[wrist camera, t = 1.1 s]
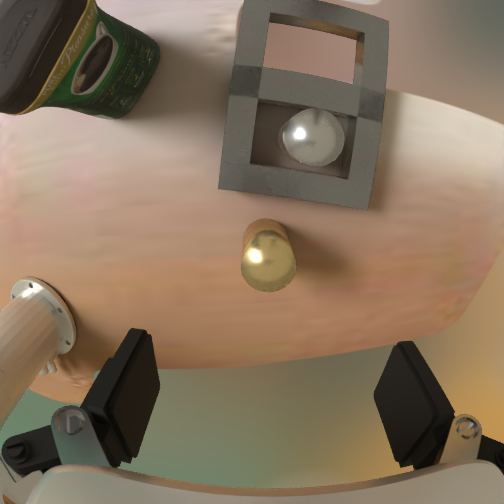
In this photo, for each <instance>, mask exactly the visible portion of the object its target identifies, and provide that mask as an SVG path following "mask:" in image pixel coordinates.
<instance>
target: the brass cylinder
mask: <svg viewBox="0 0 504 504" xmlns="http://www.w3.org/2000/svg"><path fill="white" fill-rule="evenodd" d="M241 271H242V275H243V277H244V279H245V281H246V282H247V283H248V284H249V285H250V286H251V287H253V288H254V289H256V290H259V291H263V292H274V291H278V290H280V289H282V288H284V287H285V286H287V285H288V284H289V283H290V282H291V281H292V279H293V277H294V275H295V273H296V259H295V256H294V254H293V251H292V248H291V245H290V243H289V240H288V237H287V234H286V232H285V230H284V228H283V227H282V225H280V224H279V223H278V222H276V221H274V220H271V219H260V220H257V221H255V222H253V223H252V224H251V225H249V227H248V228H247V229H246V231H245V234H244V240H243V251H242V263H241Z"/></svg>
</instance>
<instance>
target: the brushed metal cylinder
mask: <svg viewBox="0 0 504 504" xmlns="http://www.w3.org/2000/svg"><path fill="white" fill-rule="evenodd" d="M344 140H345V139H344V131H343V128H342V126H341V124H340V122H339V121H338V120H337V119H336V118H335V117H334V116H333V115H332V114H331V113H329V112H327V111H325V110H322V109H316V108H312V109H306V110H303V111H301V112H299V113H297V114H296V115H295V116H293V117H292V118H290V119H289V120H287V121H286V122H285V123H284V124H283V125H282V126H281V128H280V130H279V133H278V144H279V147H280V149H281V151H282V152H283V153H284V154H285V155H286V156H287V157H288V158H290V159H292V160H295V161H297V162H300V163H303V164H305V165H308V166H313V167H320V166H325V165H328V164H330V163H331V162H333V161H334V160H336V159H337V157H338V156H339V155H340V153H341V152H342V149H343V146H344Z"/></svg>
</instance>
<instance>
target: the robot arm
mask: <svg viewBox="0 0 504 504" xmlns="http://www.w3.org/2000/svg"><path fill="white" fill-rule="evenodd" d="M75 341H76V326H75V322H74V319H73V317H72V314H71V312H70V311H69V309H68V307H67V305H66V304H65V302H64V301H63V299H62V298H61V297H60V296H59V295H58V293H57V292H55V291H54V290H53V289H52V288H51V287H50V286H49V285H47V284H46V283H44V282H42V281H40V280H39V279H35V278H30V277H26V278H23V279H21V280H19V281H18V282H17V283H16V284H15V285H14V286H13V288H12V290H11V294H10V302H9V303H8V304H7V305H6V306H5V307H4V308H3V309H1V310H0V431H1V429H2V427H3V426H4V424H5V422H6V421H7V419H8V417H9V416H10V414H11V413H12V411H13V410H14V408H15V407H16V405H17V404H18V402H19V401H20V400H21V398H22V397H23V395H24V394H25V392H26V391H27V389H28V388H29V387H30V385H31V384H32V382H33V381H34V380H35V378H36V377H37V375H38V374H40V375H46V374H48V372H49V371H50V372H51V373H56V372H57V368H56V365H55V363H54V359H55V358H56V357H57V355H58V354H65V353H67V352H68V351H70V349H71V348H72V347H73V345H74V343H75ZM47 365H48V367H47ZM48 368H49V370H48ZM159 390H160V381H159V376H158V371H157V366H156V360H155V355H154V349H153V343H152V337H151V335H150V334H147V331H146V330H142V329H136V328H131V329H130V330H129V332H128V333H127V335H126V337H125V338H124V340H123V342H122V343H121V345H120V347H119V348H118V350H117V352H116V354H115V355H114V357H113V358H109V359H108V360H107V361H106V363H105V364H104V366H103V368H102V369H101V371H100V373H99V374H98V376H97V378H96V380H95V381H94V383H93V385H92V387H91V388H90V390H89V392H88V394H87V395H86V397H85V399H84V401H83V403H82V404H81V406H80V407H77V406H72V405H70V406H64V407H62V408H59V409H58V410H57V411H56V412H55V413H54V414H53V416H52V418H51V425H48V426H45V427H42V428H39V429H36V430H32V431H29V432H26V433H22V434H19V435H15V436H12V437H10V438H9V439H7V440H6V441H5V443H4V444H3V446H2V453H0V504H504V444H503V443H501V442H498V441H496V440H493V439H491V438H488V437H486V436H484V435H482V427H481V424H480V423H479V421H478V420H477V419H476V418H475V417H473V416H471V415H467V414H461V415H459V416H457V417H456V418H455V416H454V413H455V411H454V409H453V407H452V406H451V404H450V402H449V400H448V398H447V397H446V395H445V393H444V391H443V390H442V388H441V386H440V385H439V383H438V381H437V379H436V378H435V376H434V374H433V373H432V371H431V369H430V368H429V366H428V364H427V363H426V361H425V360H424V358H423V356H422V355H421V353H420V352H419V350H418V348H417V347H416V345H415V344H414V342H413V341H401V342H398V343H397V345H396V346H394V347H393V349H392V352H391V354H390V356H389V359H388V361H387V364H386V366H385V369H384V371H383V373H382V375H381V378H380V380H379V382H378V384H377V386H376V389H375V391H374V400H375V403H376V406H377V409H378V411H379V414H380V417H381V419H382V423H383V426H384V429H385V431H386V434H387V437H388V440H389V443H390V446H391V449H392V453H393V455H394V459H395V461H396V462H399V465H400V467H401V468H402V467H406V466H410V465H413V468H414V470H413V471H411V472H406V473H402V474H398V475H393V476H388V477H384V478H379V479H373V480H368V481H362V482H355V483H348V484H340V485H331V486H320V487H307V488H282V489H281V488H276V489H275V488H274V489H273V488H272V489H271V488H270V489H269V488H265V489H264V488H240V487H226V486H215V485H206V484H198V483H190V482H184V481H177V480H171V479H166V478H160V477H155V476H150V475H145V474H141V473H137V472H132V471H126V470H122V469H118V467H119V466H120V464H121V461H123V462H126V463H131V460H132V457H134V458H136V457H137V455H138V453H139V449H140V446H141V443H142V440H143V437H144V434H145V431H146V428H147V425H148V422H149V419H150V416H151V413H152V411H153V408H154V405H155V402H156V398H157V396H158V393H159Z"/></svg>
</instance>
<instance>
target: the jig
mask: <svg viewBox="0 0 504 504" xmlns="http://www.w3.org/2000/svg"><path fill="white" fill-rule="evenodd" d="M269 22H271V23H279V24H285V25H292V26H298V27H304V28H308V29H313V30H318V31H323V32H327V33H331V34H336V35H339V36H343V37H347V38H351V39H354V40H357V44H356V57H355V69H354V80H353V84H349V83H345V82H341V81H337V80H332V79H328V78H323V77H319V76H314V75H309V74H303V73H297V72H292V71H285V70H279V69H273V68H265V67H262V66H263V60H264V52H265V45H266V38H267V31H268V24H269ZM388 40H389V21H387V20H384V19H381V18H379V17H376V16H373V15H370V14H367V13H364V12H360V11H357V10H354V9H350V8H346V7H343V6H339V5H335V4H331V3H327V2H323V1H318V0H244V5H243V10H242V16H241V22H240V28H239V34H238V40H237V46H236V53H235V59H234V66H233V72H232V79H231V86H230V94H229V101H228V108H227V116H226V124H225V132H224V140H223V149H222V157H221V166H220V175H219V185H218V189H223V190H232V191H241V192H249V193H257V194H265V195H273V196H280V197H288V198H295V199H302V200H308V201H315V202H321V203H328V204H334V205H340V206H346V207H352V208H357V209H363V210H367V209H368V204H369V199H370V194H371V189H372V184H373V178H374V173H375V167H376V161H377V154H378V148H379V141H380V134H381V126H382V118H383V109H384V100H385V89H386V77H387V61H388ZM258 102H260V103H267V104H275V105H282V106H288V107H294V108H300V109H312V108H316V109H322V110H325V111H327V112H329V113H331V114H332V115H335V116H340V117H344V118H349V123H348V130H347V138H346V144H345V151H344V158H343V164H342V170H341V176H334V175H329V174H323V173H317V172H311V171H305V170H299V169H292V168H286V167H279V166H272V165H264V164H256V163H250V157H251V150H252V142H253V134H254V126H255V119H256V111H257V104H258Z"/></svg>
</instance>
